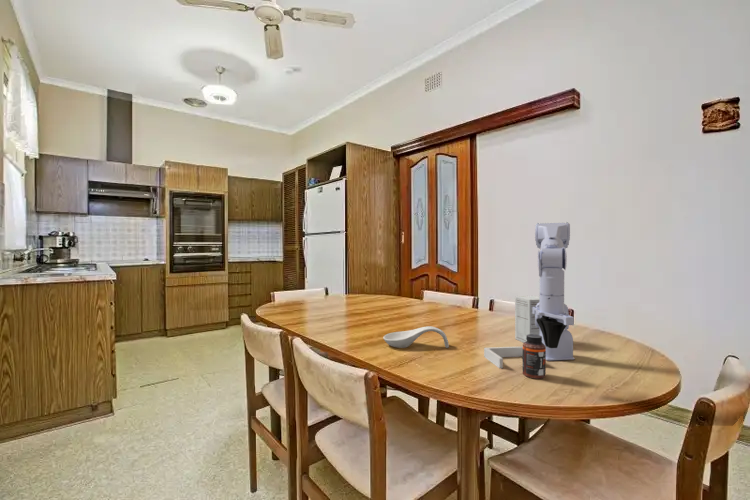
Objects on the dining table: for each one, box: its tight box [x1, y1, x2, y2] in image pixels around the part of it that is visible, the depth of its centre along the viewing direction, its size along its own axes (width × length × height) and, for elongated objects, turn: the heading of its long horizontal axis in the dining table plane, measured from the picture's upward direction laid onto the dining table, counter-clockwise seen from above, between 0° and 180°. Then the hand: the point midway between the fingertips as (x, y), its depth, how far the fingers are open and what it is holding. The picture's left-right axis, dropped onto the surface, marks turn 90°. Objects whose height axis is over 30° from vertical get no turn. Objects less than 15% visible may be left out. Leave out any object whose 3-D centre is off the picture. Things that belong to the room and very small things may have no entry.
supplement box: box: [514, 295, 540, 344], centre depth 134 cm, size 10×9×17 cm
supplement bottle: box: [522, 334, 547, 380], centre depth 99 cm, size 6×6×11 cm
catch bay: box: [483, 345, 523, 369], centre depth 111 cm, size 14×11×3 cm
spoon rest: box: [382, 325, 450, 349], centre depth 128 cm, size 24×12×7 cm, turn 85°
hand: (551, 347), depth 91 cm, fingers closed
